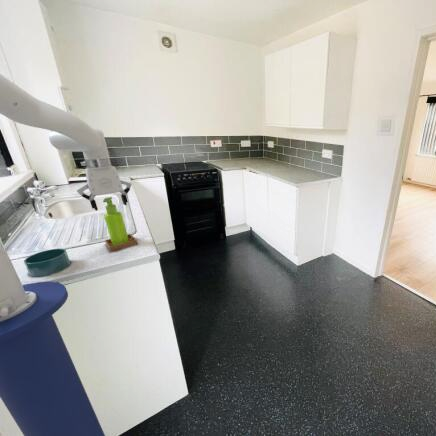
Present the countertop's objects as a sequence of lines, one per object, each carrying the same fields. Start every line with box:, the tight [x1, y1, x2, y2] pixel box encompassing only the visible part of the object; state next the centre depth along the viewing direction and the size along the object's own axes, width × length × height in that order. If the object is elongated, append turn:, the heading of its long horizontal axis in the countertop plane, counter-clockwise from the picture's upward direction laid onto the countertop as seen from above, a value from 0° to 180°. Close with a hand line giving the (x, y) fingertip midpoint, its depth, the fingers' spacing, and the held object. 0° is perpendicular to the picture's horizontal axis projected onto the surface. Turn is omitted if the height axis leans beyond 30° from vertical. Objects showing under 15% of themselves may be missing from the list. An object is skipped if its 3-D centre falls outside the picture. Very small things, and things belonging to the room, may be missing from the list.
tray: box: [104, 233, 138, 253], centre depth 103 cm, size 10×10×2 cm
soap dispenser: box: [102, 196, 129, 246], centre depth 100 cm, size 6×7×20 cm
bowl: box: [23, 248, 71, 278], centre depth 85 cm, size 11×11×5 cm
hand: (111, 207), depth 98 cm, fingers open, 9 cm apart
